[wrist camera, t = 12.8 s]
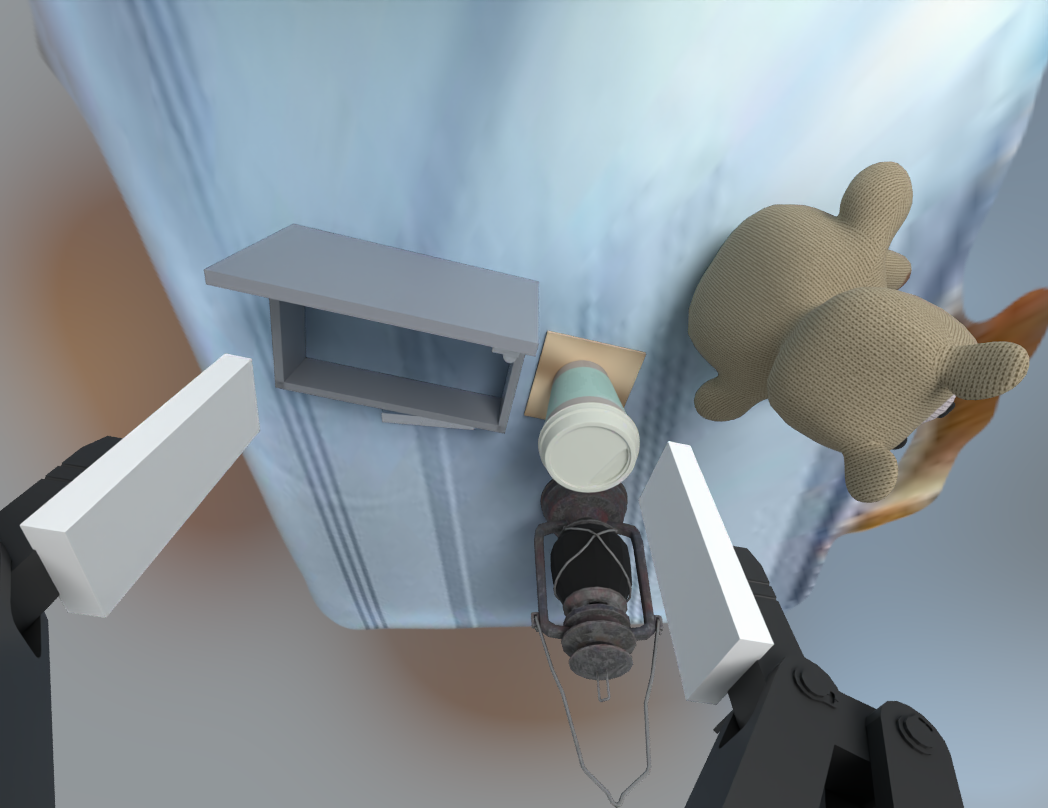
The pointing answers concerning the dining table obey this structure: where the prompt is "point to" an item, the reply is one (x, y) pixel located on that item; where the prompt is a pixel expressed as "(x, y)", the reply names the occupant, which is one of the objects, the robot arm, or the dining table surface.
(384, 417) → the bar
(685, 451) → the robot arm
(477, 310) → the case
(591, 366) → the coffee cup
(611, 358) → the cork pad
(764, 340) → the bear
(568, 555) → the lantern
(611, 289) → the dining table surface
